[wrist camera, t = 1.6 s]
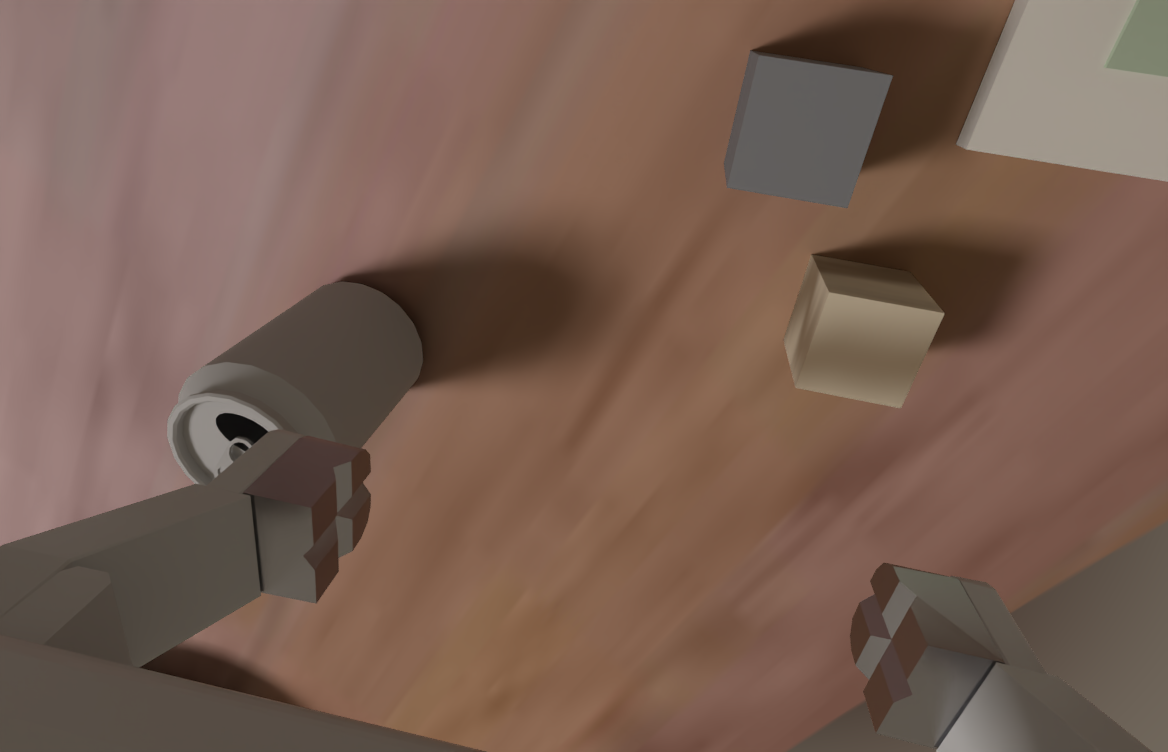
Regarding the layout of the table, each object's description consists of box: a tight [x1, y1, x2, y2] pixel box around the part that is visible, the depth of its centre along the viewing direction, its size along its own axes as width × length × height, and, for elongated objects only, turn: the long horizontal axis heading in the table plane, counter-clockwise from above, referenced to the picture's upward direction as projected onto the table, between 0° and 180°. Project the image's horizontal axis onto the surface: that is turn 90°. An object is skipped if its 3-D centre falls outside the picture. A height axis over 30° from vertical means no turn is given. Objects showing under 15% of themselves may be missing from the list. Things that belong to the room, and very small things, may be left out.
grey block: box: [724, 50, 893, 208], centre depth 25 cm, size 5×5×5 cm
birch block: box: [784, 254, 945, 408], centre depth 29 cm, size 5×5×5 cm
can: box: [167, 281, 423, 486], centre depth 31 cm, size 8×8×12 cm
